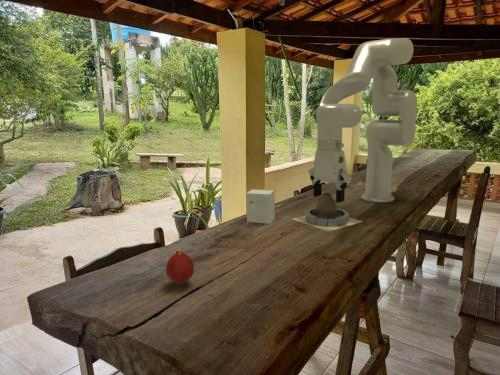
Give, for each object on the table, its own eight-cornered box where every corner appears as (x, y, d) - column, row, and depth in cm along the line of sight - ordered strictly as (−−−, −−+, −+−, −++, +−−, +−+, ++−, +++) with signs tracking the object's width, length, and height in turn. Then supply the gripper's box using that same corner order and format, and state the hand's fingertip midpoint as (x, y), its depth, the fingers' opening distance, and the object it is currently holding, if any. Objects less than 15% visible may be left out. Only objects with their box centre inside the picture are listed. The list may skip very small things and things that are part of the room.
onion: (169, 278, 79) (166, 244, 77) (195, 277, 79) (193, 243, 78) (165, 291, 73) (162, 255, 71) (193, 290, 74) (191, 254, 72)
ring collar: (325, 212, 125) (326, 205, 125) (356, 221, 114) (357, 213, 114) (297, 219, 118) (297, 211, 117) (327, 229, 107) (327, 221, 106)
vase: (337, 223, 112) (338, 196, 110) (315, 222, 114) (315, 195, 112) (336, 217, 119) (337, 191, 117) (315, 216, 120) (316, 190, 118)
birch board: (325, 212, 127) (325, 210, 127) (362, 223, 114) (362, 221, 114) (291, 221, 118) (291, 218, 118) (327, 234, 105) (327, 231, 105)
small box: (274, 221, 118) (274, 190, 116) (270, 226, 113) (270, 194, 111) (252, 219, 121) (251, 188, 119) (246, 224, 116) (246, 192, 114)
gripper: (360, 146, 106) (357, 202, 110) (317, 142, 120) (317, 192, 124) (342, 149, 102) (341, 206, 106) (301, 144, 116) (301, 195, 120)
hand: (328, 198), depth 115 cm, fingers open, 9 cm apart
